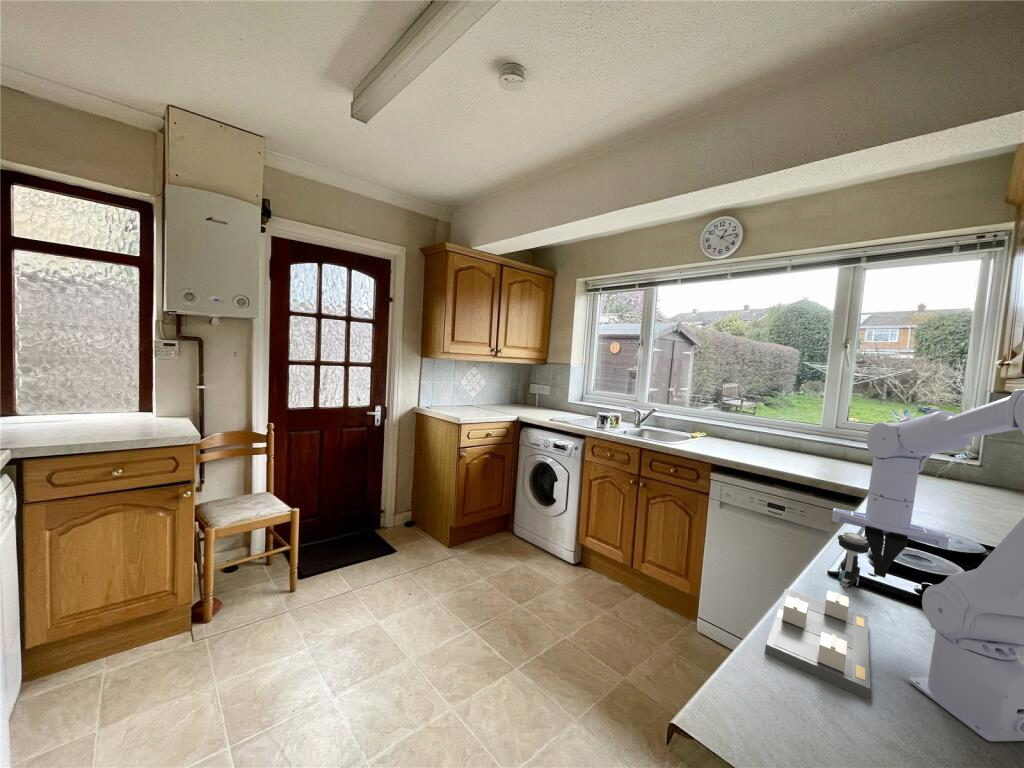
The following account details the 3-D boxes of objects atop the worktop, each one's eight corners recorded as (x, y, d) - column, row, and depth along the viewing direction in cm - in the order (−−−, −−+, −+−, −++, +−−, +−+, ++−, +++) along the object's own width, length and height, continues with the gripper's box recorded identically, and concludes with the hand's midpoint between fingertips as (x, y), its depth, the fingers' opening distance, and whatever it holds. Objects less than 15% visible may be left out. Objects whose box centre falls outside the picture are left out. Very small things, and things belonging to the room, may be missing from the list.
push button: (859, 594, 83) (866, 545, 83) (827, 582, 87) (833, 535, 87) (867, 584, 88) (874, 537, 87) (836, 573, 92) (842, 528, 91)
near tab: (843, 672, 58) (846, 653, 58) (817, 661, 60) (819, 642, 60) (844, 657, 62) (847, 639, 61) (819, 647, 63) (821, 629, 63)
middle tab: (804, 628, 68) (806, 611, 68) (782, 619, 70) (784, 603, 70) (806, 617, 71) (808, 601, 71) (785, 609, 73) (787, 594, 73)
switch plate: (868, 699, 56) (870, 688, 56) (764, 653, 64) (765, 643, 64) (866, 625, 73) (867, 616, 73) (784, 595, 81) (785, 587, 81)
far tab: (846, 621, 71) (848, 605, 71) (824, 613, 73) (826, 597, 73) (846, 611, 74) (849, 595, 74) (825, 603, 76) (827, 588, 76)
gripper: (948, 502, 70) (935, 582, 71) (837, 480, 79) (827, 551, 80) (956, 513, 64) (942, 599, 65) (835, 488, 73) (825, 564, 74)
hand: (879, 574), depth 72 cm, fingers closed
